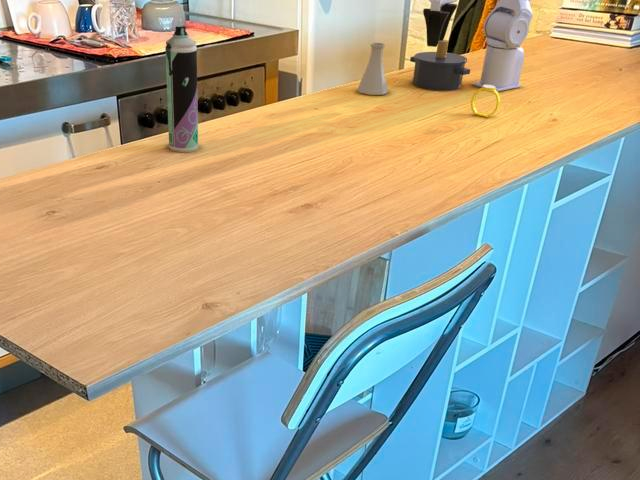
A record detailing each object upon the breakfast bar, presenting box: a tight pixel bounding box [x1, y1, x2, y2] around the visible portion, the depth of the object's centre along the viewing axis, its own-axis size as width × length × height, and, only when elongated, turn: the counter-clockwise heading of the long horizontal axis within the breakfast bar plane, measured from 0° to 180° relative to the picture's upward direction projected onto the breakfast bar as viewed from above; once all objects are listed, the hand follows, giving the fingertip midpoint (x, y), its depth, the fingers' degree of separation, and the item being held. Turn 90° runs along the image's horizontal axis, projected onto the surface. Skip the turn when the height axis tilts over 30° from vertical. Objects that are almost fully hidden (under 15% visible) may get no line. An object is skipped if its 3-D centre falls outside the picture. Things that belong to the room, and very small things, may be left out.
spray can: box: [164, 25, 199, 153], centre depth 146 cm, size 6×6×20 cm
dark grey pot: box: [409, 55, 471, 92], centre depth 196 cm, size 12×17×6 cm
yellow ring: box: [470, 85, 501, 118], centre depth 175 cm, size 6×3×6 cm, turn 61°
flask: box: [357, 42, 389, 96], centre depth 187 cm, size 7×7×10 cm
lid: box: [413, 39, 468, 65], centre depth 193 cm, size 13×13×5 cm
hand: (435, 43), depth 185 cm, fingers open, 7 cm apart
